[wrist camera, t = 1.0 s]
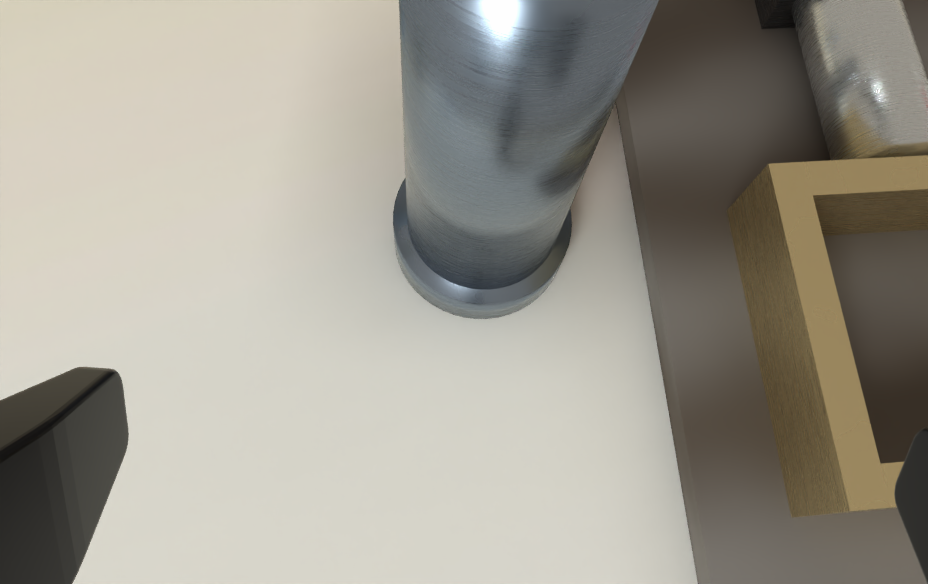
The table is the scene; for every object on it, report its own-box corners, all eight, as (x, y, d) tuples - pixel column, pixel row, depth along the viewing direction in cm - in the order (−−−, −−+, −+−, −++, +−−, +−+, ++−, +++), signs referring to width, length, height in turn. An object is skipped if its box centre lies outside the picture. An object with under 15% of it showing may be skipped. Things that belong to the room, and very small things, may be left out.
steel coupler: (573, 312, 23) (742, 41, 11) (400, 324, 23) (377, 55, 11) (551, 159, 25) (679, -225, 13) (390, 167, 25) (361, -221, 12)
